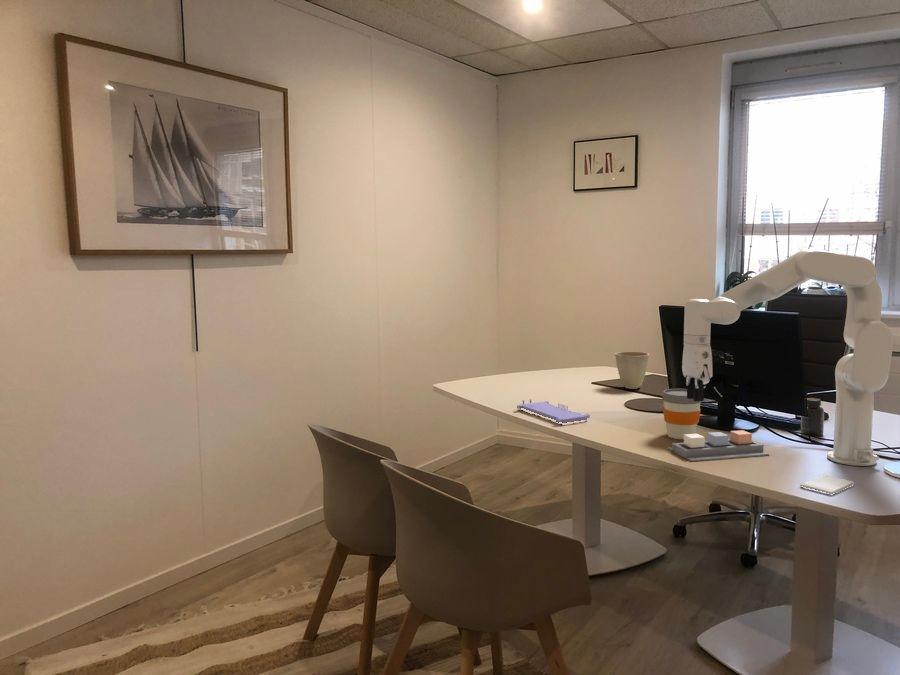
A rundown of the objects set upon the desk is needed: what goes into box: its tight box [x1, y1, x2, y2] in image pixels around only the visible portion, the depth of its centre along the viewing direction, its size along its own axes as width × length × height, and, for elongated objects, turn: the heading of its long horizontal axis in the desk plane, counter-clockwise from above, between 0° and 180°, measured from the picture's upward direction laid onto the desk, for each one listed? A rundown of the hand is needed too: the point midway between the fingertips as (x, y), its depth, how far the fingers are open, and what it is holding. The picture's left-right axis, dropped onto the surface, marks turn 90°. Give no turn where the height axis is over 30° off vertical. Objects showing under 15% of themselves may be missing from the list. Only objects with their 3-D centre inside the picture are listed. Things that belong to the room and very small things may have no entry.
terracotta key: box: [729, 429, 753, 444], centre depth 216 cm, size 4×4×3 cm
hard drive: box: [799, 474, 855, 494], centre depth 183 cm, size 2×8×12 cm
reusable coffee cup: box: [662, 388, 703, 440], centre depth 233 cm, size 13×13×15 cm
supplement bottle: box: [800, 397, 825, 437], centre depth 233 cm, size 7×7×12 cm
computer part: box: [516, 398, 591, 423], centre depth 265 cm, size 30×4×15 cm
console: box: [666, 438, 770, 462], centre depth 215 cm, size 14×26×2 cm, turn 101°
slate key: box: [706, 431, 729, 446], centre depth 214 cm, size 4×4×3 cm
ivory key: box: [683, 433, 706, 448], centre depth 213 cm, size 4×4×3 cm
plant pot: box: [614, 351, 650, 387], centre depth 314 cm, size 15×15×16 cm
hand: (695, 399), depth 211 cm, fingers open, 3 cm apart
